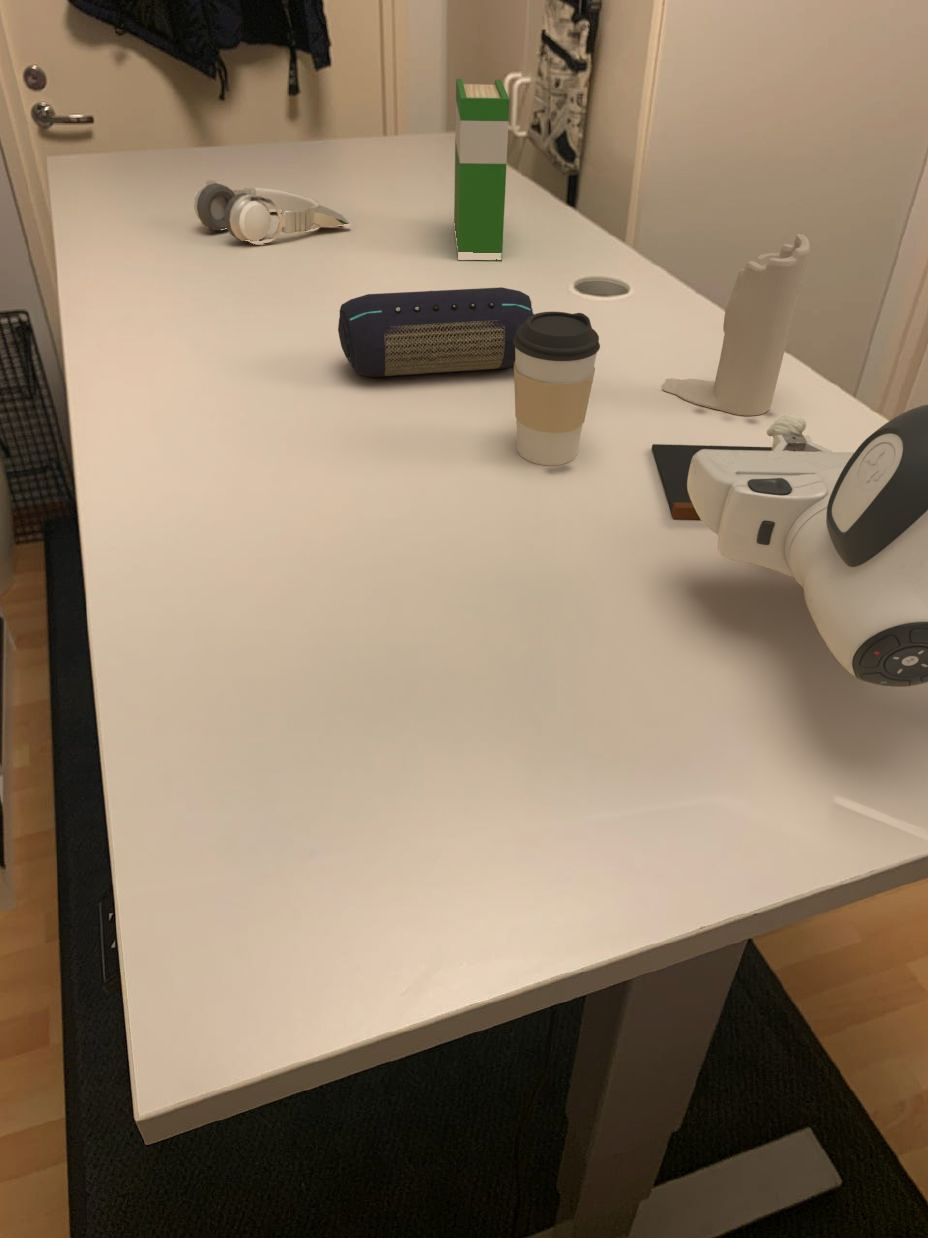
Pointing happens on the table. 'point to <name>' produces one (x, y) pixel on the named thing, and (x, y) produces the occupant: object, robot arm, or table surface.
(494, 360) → the portable speaker
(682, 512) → the chalkboard
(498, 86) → the hardback book
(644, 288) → the table surface
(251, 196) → the headphones
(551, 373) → the coffee cup
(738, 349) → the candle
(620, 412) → the table surface
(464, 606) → the table surface
